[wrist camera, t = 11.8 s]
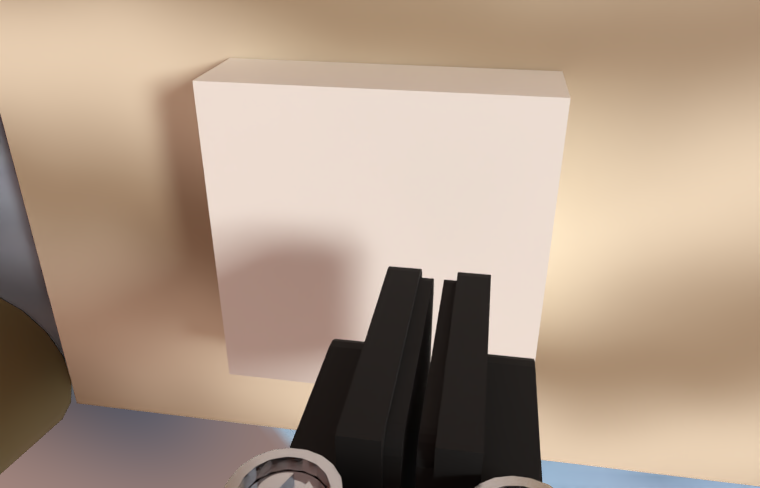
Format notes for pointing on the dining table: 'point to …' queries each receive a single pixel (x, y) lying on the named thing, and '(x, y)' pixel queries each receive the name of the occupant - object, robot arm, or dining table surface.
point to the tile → (373, 197)
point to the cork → (28, 384)
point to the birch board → (570, 230)
